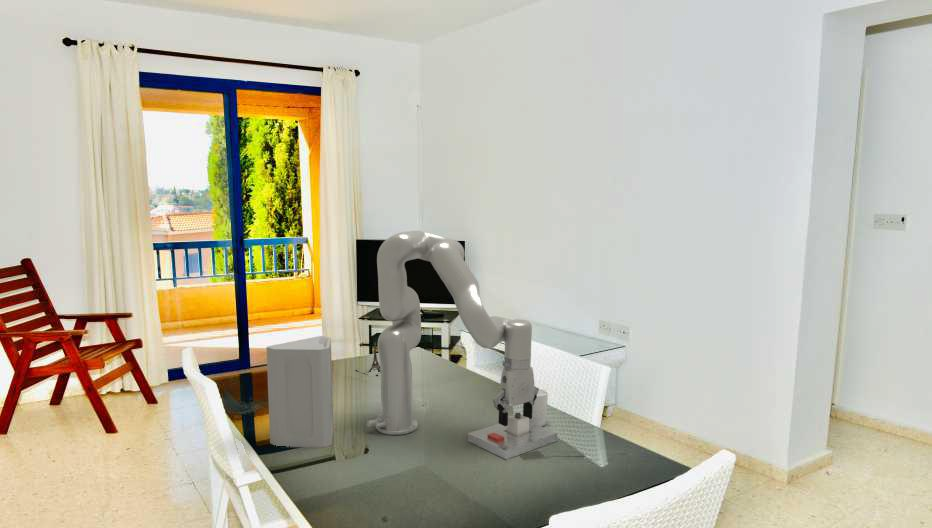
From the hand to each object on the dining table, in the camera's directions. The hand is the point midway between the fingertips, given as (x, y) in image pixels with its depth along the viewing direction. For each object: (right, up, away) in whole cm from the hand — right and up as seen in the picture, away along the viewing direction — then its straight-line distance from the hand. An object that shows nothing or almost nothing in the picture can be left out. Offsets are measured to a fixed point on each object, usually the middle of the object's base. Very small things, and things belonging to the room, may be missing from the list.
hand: (515, 421), depth 173 cm
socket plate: (-1, -6, -1) cm, 6 cm away
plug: (+1, -5, 0) cm, 5 cm away
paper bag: (-59, -6, +1) cm, 59 cm away
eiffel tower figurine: (-52, +1, +72) cm, 89 cm away
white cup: (+7, -4, +13) cm, 16 cm away
